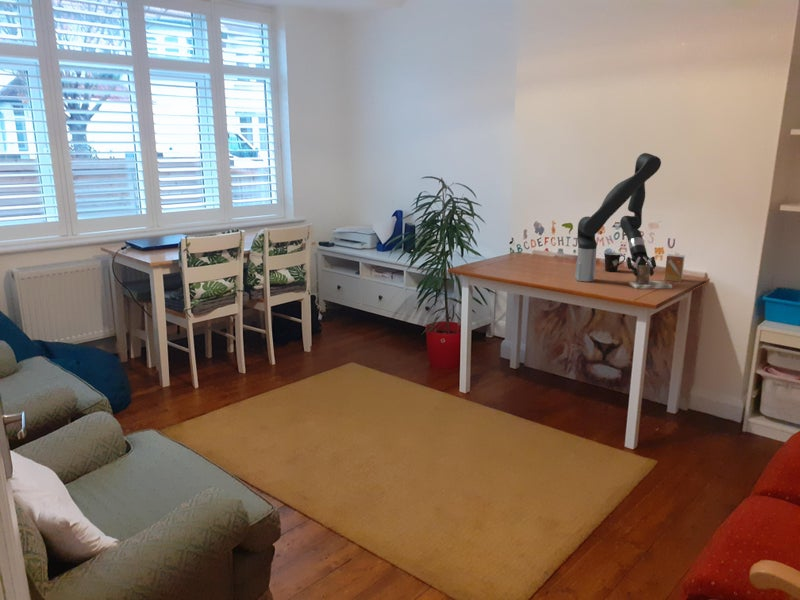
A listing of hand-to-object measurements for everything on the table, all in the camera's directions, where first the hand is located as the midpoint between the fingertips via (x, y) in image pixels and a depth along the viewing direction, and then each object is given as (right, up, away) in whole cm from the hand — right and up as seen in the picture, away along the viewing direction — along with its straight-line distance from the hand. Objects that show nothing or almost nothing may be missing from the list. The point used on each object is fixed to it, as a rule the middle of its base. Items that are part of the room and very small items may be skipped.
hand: (644, 275), depth 310 cm
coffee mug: (-1, +4, +40) cm, 40 cm away
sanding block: (0, -4, +3) cm, 5 cm away
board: (+4, -5, +3) cm, 7 cm away
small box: (+22, -2, +17) cm, 28 cm away
